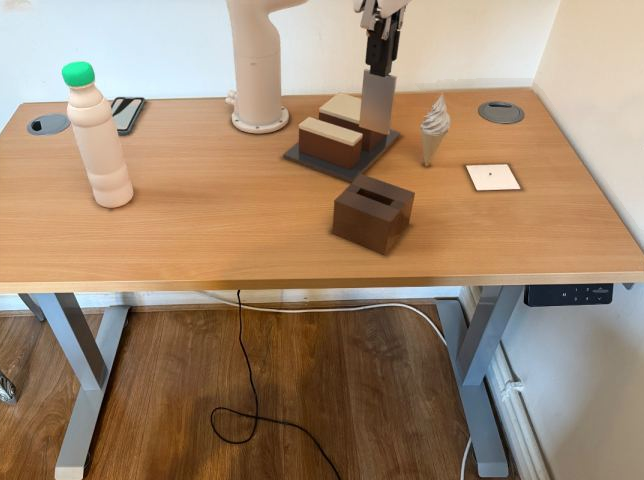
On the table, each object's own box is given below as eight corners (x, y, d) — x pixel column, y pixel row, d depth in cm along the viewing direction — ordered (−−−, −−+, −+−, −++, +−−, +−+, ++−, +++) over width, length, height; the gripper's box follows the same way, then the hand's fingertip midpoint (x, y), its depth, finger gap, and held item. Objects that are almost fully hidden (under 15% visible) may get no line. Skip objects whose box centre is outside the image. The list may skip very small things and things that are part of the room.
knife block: (331, 233, 91) (334, 200, 86) (357, 206, 96) (361, 173, 91) (384, 255, 87) (390, 222, 82) (408, 225, 92) (415, 192, 87)
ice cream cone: (439, 174, 102) (457, 100, 91) (412, 171, 103) (427, 98, 92) (439, 159, 105) (456, 86, 95) (413, 157, 106) (427, 85, 95)
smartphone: (95, 131, 115) (115, 96, 125) (96, 135, 116) (116, 100, 126) (128, 132, 115) (146, 97, 125) (129, 136, 115) (147, 101, 125)
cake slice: (298, 151, 107) (298, 124, 103) (308, 143, 109) (308, 116, 105) (350, 170, 102) (353, 142, 98) (359, 161, 104) (362, 133, 100)
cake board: (283, 158, 107) (283, 154, 107) (334, 116, 118) (334, 112, 118) (353, 183, 101) (353, 179, 100) (400, 136, 112) (400, 132, 111)
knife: (356, 128, 83) (365, 20, 72) (362, 123, 84) (372, 15, 73) (385, 137, 81) (399, 27, 69) (391, 131, 82) (406, 22, 70)
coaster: (520, 188, 98) (522, 185, 97) (477, 190, 98) (478, 186, 98) (507, 164, 103) (508, 160, 103) (465, 165, 104) (466, 162, 103)
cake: (317, 134, 111) (318, 108, 107) (337, 118, 116) (339, 92, 111) (369, 151, 106) (372, 124, 102) (387, 134, 111) (391, 107, 106)
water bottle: (101, 214, 97) (57, 80, 78) (91, 193, 101) (48, 62, 83) (139, 202, 99) (104, 69, 81) (128, 182, 103) (92, 52, 85)
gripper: (399, -112, 68) (382, 37, 81) (336, -85, 59) (328, 77, 72) (456, -107, 65) (429, 48, 78) (398, -78, 56) (378, 91, 69)
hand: (380, 61), depth 75 cm, fingers closed on knife, 2 cm apart
